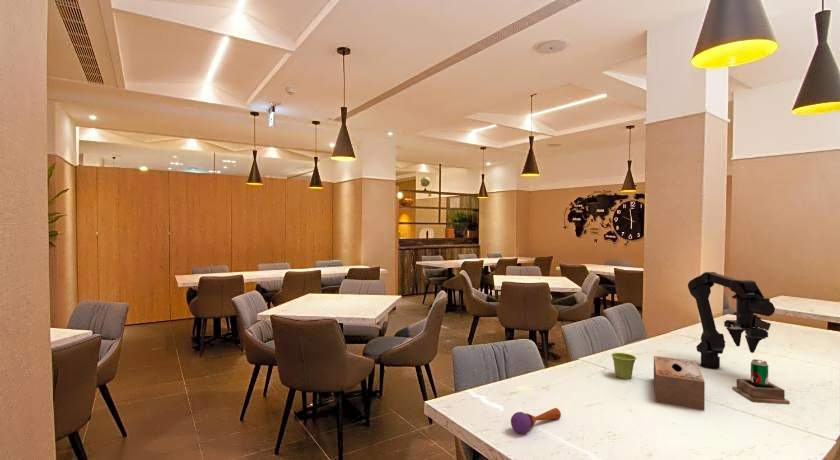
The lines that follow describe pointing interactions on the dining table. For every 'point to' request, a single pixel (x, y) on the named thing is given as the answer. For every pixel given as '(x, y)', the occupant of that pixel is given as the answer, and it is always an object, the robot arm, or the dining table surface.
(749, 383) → the socket block
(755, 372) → the soda can
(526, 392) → the dining table surface
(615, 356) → the plant pot
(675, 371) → the tissue box cover
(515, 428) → the kendama
